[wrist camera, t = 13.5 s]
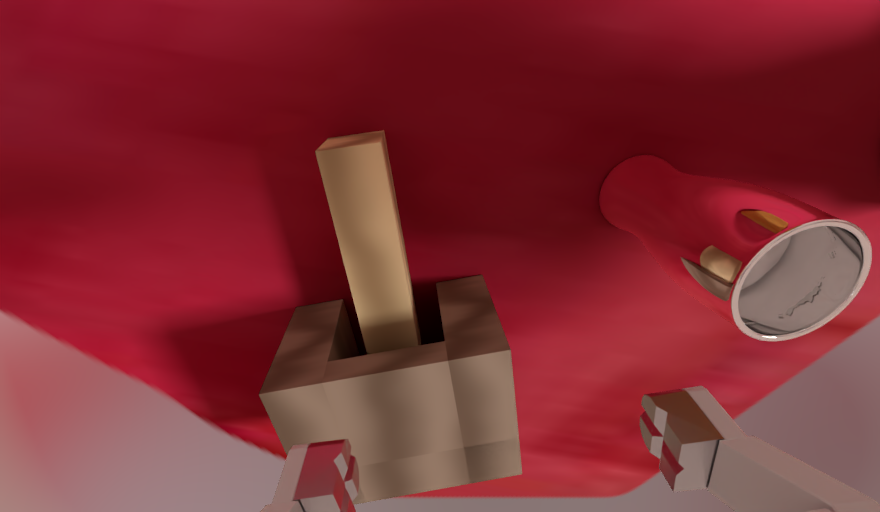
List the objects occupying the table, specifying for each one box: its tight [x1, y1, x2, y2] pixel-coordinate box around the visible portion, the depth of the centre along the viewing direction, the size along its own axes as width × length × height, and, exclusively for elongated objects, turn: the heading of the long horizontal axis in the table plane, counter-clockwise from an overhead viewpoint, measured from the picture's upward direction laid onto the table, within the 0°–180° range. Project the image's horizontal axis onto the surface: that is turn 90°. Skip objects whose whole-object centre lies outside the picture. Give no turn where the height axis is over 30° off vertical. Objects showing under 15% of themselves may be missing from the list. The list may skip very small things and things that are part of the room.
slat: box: [315, 130, 421, 355], centre depth 31 cm, size 4×18×5 cm, turn 7°
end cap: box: [259, 275, 522, 505], centre depth 33 cm, size 16×12×10 cm
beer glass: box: [599, 155, 872, 341], centre depth 26 cm, size 7×7×15 cm
